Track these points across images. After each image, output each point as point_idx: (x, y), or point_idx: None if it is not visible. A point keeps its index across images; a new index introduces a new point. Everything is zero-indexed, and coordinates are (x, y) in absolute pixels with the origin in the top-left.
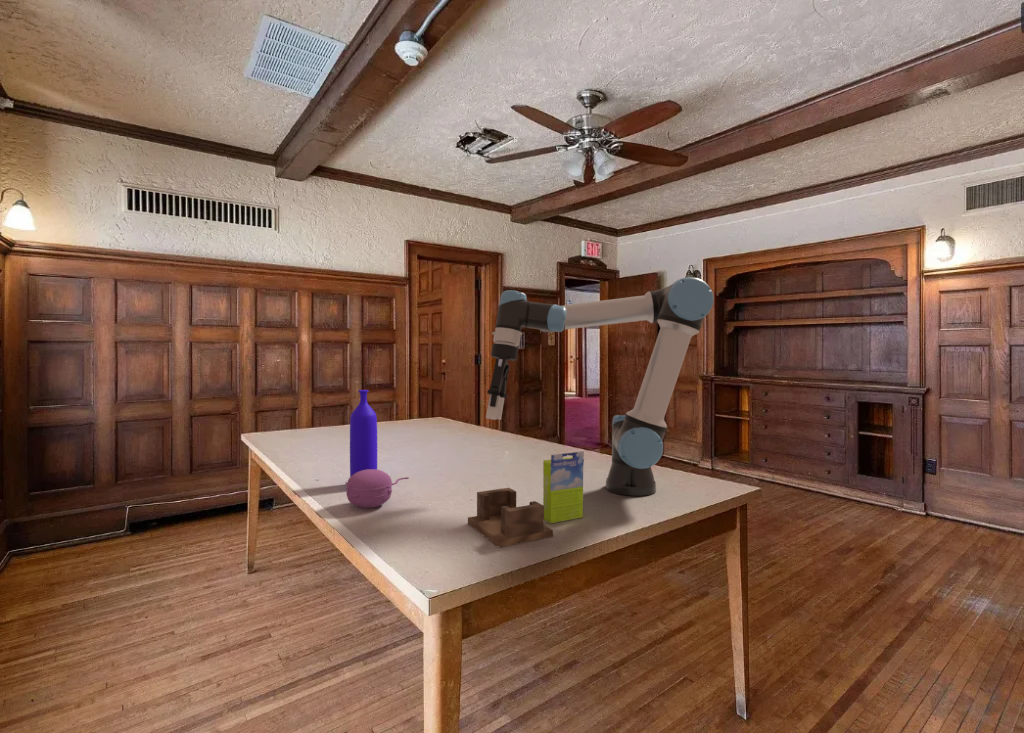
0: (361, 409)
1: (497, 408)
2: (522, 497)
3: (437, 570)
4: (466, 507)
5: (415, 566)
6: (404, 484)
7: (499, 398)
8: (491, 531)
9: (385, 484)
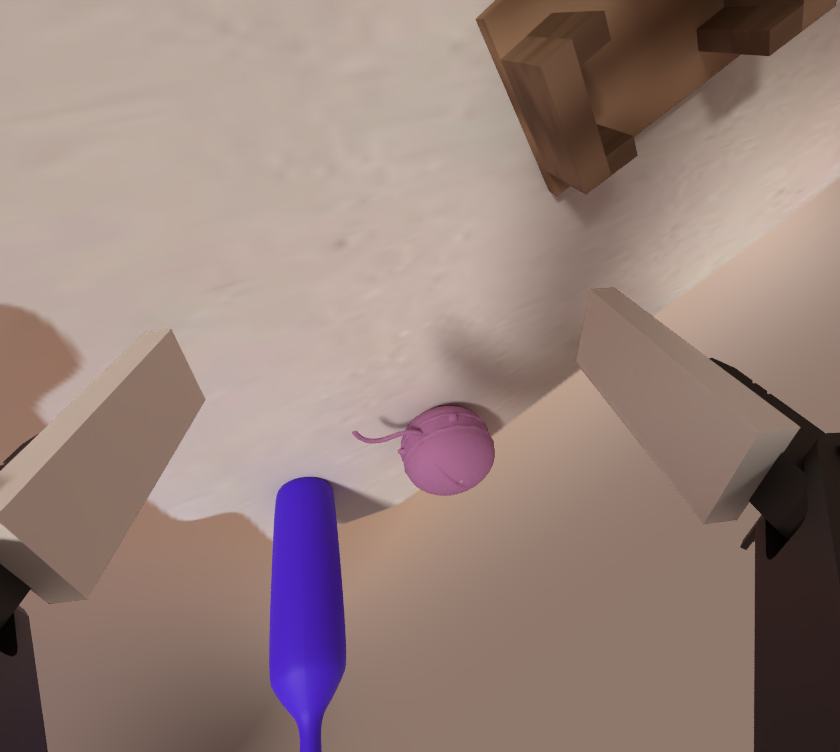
0: (333, 692)
1: (675, 334)
2: (227, 24)
3: (785, 173)
4: (414, 236)
5: (749, 221)
6: (260, 444)
7: (59, 543)
8: (679, 88)
9: (470, 432)
